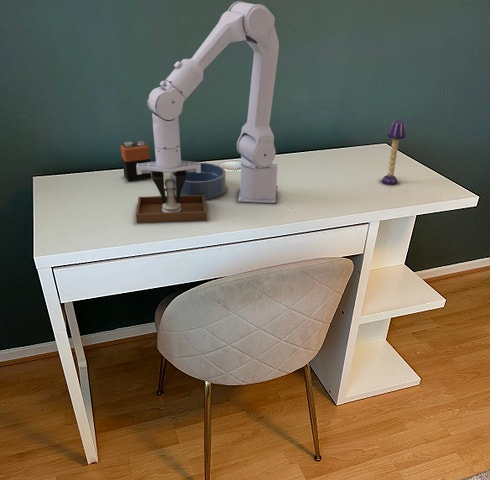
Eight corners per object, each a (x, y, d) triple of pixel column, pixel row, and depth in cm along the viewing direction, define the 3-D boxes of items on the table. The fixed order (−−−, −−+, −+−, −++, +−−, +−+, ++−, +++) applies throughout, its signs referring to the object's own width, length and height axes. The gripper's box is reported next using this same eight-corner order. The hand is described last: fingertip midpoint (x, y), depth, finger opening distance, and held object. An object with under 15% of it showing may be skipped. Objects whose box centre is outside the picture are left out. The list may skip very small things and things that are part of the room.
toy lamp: (378, 183, 139) (388, 122, 130) (381, 177, 143) (391, 118, 134) (395, 186, 138) (407, 124, 129) (398, 180, 142) (409, 120, 132)
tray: (204, 202, 127) (204, 194, 125) (206, 220, 118) (206, 212, 117) (139, 204, 125) (138, 196, 124) (136, 223, 116) (135, 214, 115)
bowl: (227, 180, 139) (227, 163, 136) (222, 201, 127) (222, 183, 124) (176, 179, 140) (175, 161, 137) (167, 199, 128) (165, 181, 125)
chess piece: (176, 204, 124) (174, 173, 119) (185, 211, 121) (183, 180, 116) (158, 208, 122) (156, 177, 117) (167, 216, 118) (164, 184, 114)
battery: (124, 176, 140) (119, 141, 135) (147, 173, 143) (144, 138, 137) (127, 182, 137) (123, 146, 131) (152, 178, 140) (148, 143, 134)
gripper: (199, 139, 116) (201, 193, 124) (135, 140, 115) (141, 195, 122) (200, 148, 111) (202, 205, 118) (133, 150, 109) (139, 207, 117)
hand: (171, 201), depth 120 cm, fingers closed on chess piece, 3 cm apart
